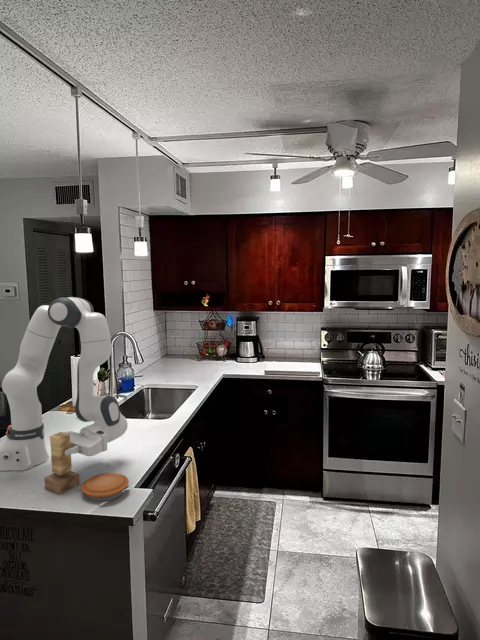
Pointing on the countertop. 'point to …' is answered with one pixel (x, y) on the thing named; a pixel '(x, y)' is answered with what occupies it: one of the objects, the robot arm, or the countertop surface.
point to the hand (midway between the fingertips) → (58, 451)
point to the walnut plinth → (61, 482)
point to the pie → (105, 486)
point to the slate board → (93, 471)
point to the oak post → (60, 453)
